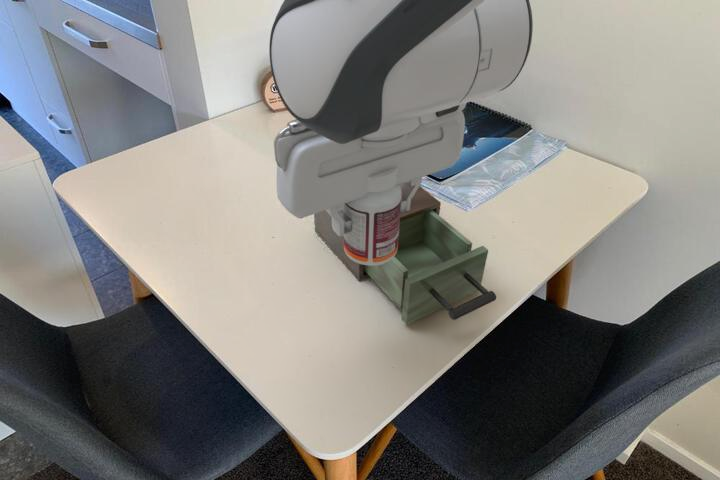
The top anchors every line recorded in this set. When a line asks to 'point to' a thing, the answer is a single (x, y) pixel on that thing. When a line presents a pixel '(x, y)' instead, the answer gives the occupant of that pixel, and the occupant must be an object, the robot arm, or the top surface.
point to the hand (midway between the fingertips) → (372, 220)
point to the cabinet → (336, 243)
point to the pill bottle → (375, 221)
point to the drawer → (432, 270)
